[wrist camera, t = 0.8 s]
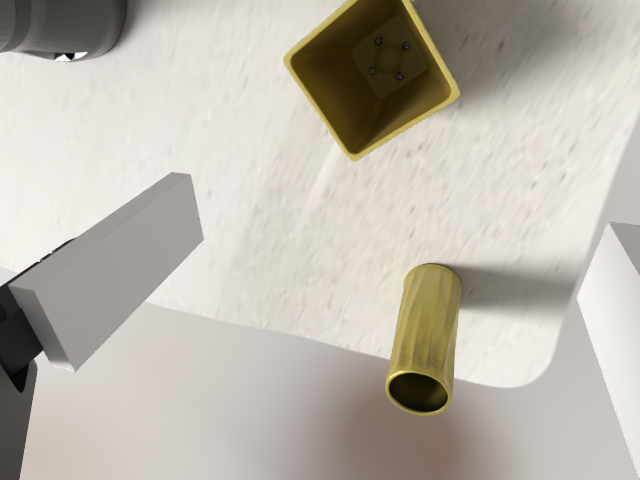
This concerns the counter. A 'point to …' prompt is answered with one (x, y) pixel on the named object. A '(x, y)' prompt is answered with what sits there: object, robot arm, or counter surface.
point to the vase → (425, 341)
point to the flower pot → (371, 89)
